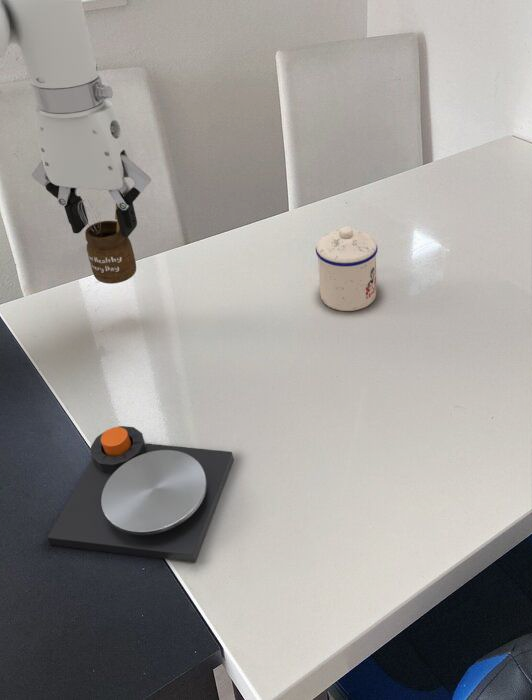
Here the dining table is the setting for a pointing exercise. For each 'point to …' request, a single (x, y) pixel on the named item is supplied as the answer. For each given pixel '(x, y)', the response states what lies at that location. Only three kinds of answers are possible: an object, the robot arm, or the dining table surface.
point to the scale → (99, 534)
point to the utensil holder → (109, 251)
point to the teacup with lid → (347, 269)
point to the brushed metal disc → (154, 492)
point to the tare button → (115, 441)
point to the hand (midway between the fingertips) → (104, 229)
